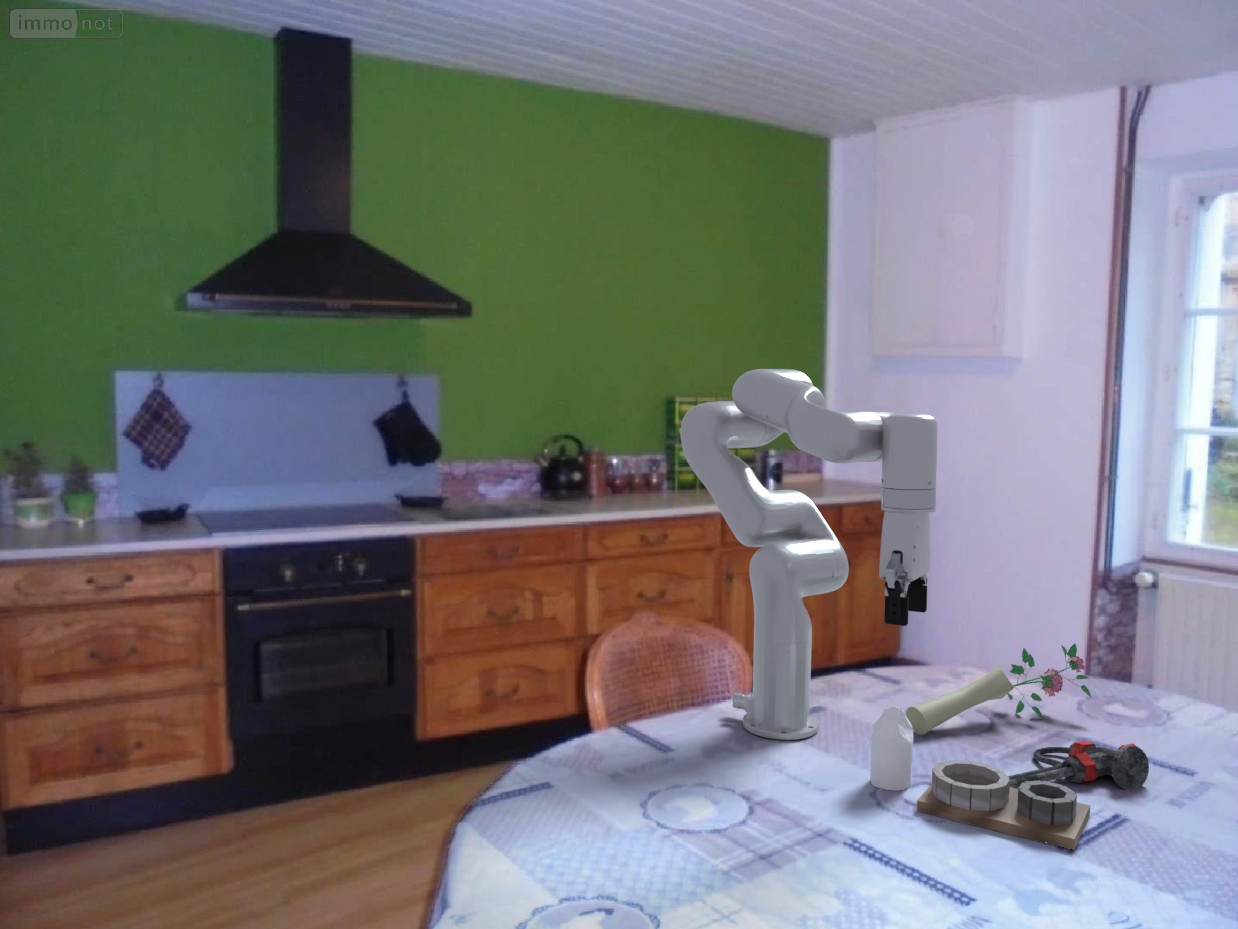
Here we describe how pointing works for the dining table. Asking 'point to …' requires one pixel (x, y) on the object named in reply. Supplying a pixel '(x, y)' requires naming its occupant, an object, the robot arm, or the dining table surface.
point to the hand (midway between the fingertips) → (906, 617)
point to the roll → (891, 750)
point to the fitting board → (1004, 803)
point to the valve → (1090, 765)
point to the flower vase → (990, 693)
